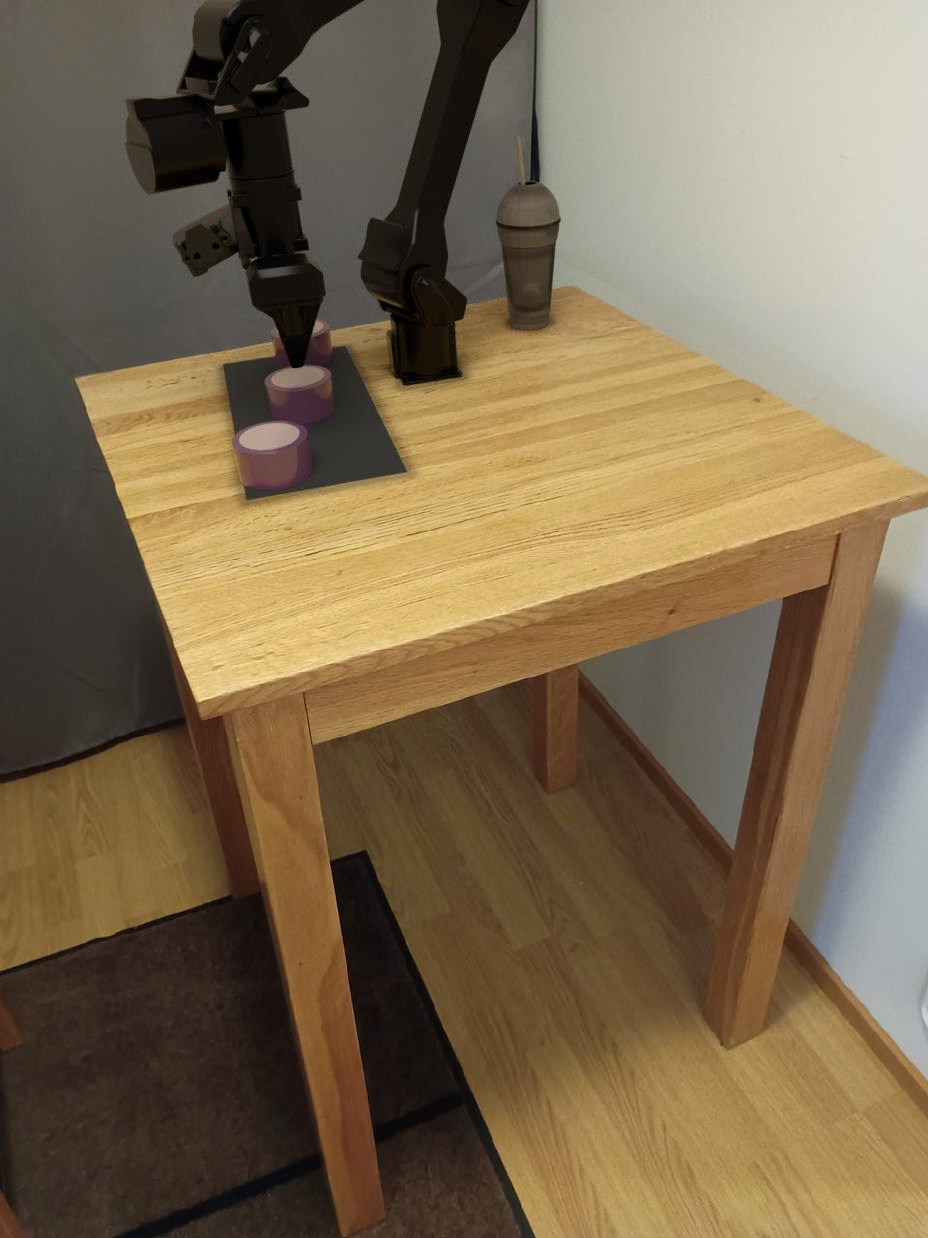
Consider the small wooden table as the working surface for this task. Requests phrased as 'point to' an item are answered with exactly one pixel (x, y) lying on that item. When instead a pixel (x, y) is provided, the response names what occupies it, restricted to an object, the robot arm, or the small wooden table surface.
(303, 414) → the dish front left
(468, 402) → the small wooden table surface
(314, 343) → the short purple cylinder
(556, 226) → the beverage cup
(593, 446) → the small wooden table surface
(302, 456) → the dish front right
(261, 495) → the placemat
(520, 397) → the small wooden table surface
